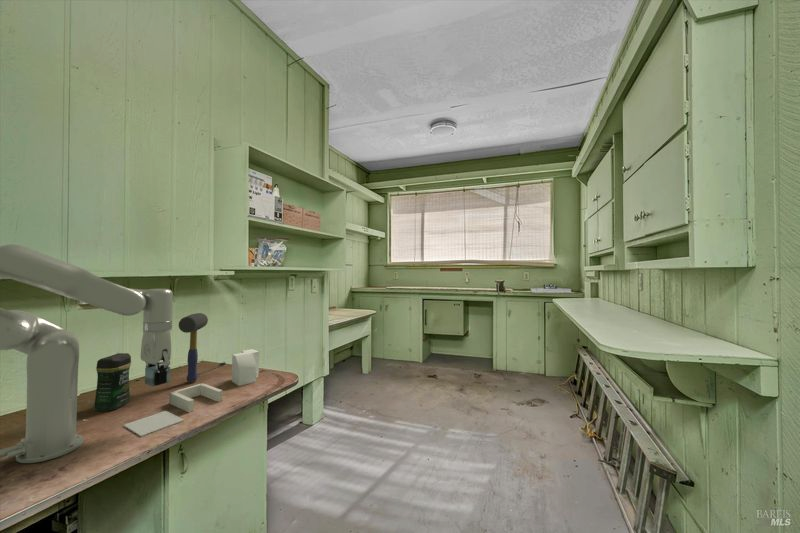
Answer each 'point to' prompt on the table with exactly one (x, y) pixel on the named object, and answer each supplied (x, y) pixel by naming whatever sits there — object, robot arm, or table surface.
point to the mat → (153, 423)
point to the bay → (184, 396)
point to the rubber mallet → (192, 340)
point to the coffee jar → (112, 382)
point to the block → (151, 375)
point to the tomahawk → (211, 369)
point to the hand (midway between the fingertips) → (156, 381)
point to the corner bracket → (245, 367)
